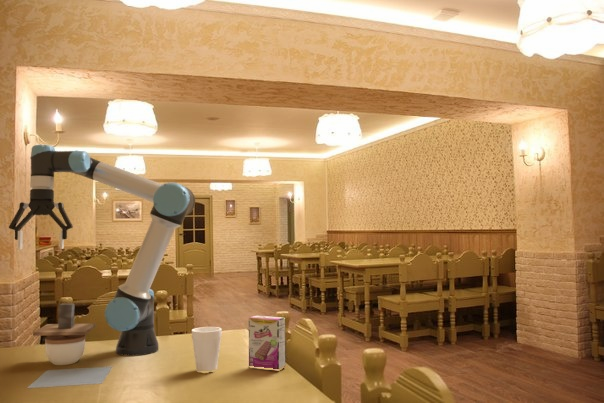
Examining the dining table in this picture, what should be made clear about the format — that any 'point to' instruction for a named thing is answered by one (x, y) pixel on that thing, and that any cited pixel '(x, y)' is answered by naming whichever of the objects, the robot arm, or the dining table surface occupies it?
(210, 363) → the foam cup
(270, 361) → the candy bar box
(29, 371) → the dining table surface
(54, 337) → the lidded bowl
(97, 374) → the mat
